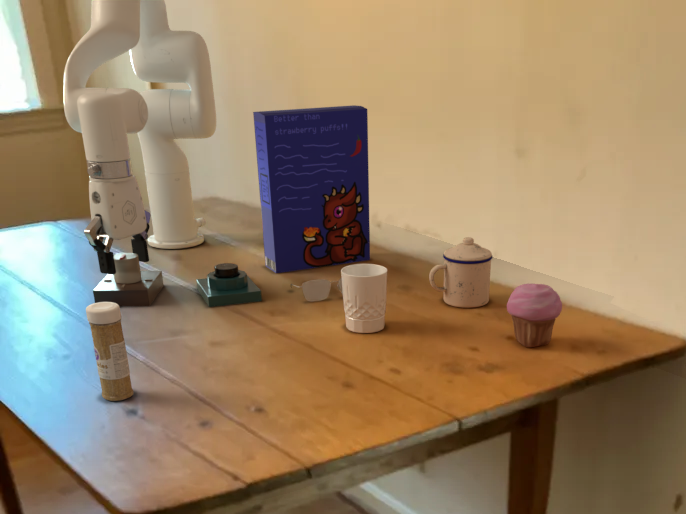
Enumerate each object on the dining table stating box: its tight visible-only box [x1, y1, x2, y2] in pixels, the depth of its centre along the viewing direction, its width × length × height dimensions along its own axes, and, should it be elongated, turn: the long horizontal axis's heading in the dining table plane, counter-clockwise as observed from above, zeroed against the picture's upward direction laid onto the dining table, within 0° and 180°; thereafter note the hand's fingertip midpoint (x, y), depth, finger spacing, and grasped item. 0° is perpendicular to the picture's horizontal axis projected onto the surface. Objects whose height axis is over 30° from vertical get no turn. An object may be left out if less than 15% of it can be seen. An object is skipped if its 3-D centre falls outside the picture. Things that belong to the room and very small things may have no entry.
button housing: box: [195, 269, 263, 308], centre depth 172 cm, size 12×10×4 cm
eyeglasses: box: [290, 277, 343, 303], centre depth 174 cm, size 14×8×4 cm, turn 112°
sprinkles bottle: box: [85, 302, 134, 402], centre depth 129 cm, size 5×5×14 cm
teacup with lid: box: [428, 236, 493, 309], centre depth 167 cm, size 12×9×12 cm
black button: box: [213, 262, 239, 278], centre depth 171 cm, size 4×4×2 cm
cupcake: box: [506, 282, 563, 348], centre depth 149 cm, size 9×9×10 cm
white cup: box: [340, 263, 388, 334], centre depth 155 cm, size 8×8×10 cm
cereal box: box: [252, 104, 371, 274], centre depth 185 cm, size 22×6×30 cm, turn 119°
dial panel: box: [92, 270, 165, 307], centre depth 172 cm, size 13×10×3 cm
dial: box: [113, 252, 142, 284], centre depth 170 cm, size 5×5×5 cm
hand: (125, 267), depth 170 cm, fingers open, 9 cm apart
